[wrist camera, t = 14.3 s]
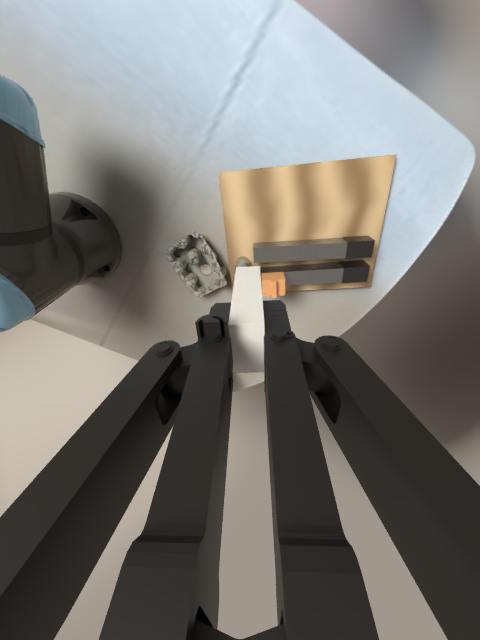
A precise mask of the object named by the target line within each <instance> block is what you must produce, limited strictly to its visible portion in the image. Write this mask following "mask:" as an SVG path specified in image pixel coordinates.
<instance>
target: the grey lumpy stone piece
mask: <svg viewBox="0 0 480 640" xmlns="http://www.w3.org/2000/svg"><path fill="white" fill-rule="evenodd" d="M190 235H192V236H193V237H194V238H202V240H203V244H202V253H203V254H207V255H213V257H214V259H213V261H212V264H213V265H212V266H213V268H214V271H215V272H217V273H218V274H219V277H220V279H221V280H222V281H220V280H219V279H213V280H212V281H211V282H210V285H209V288H208V289H206V288H205V287H198V286H197V285H196V283H197V281H198V277H197V275H196V274H195V273H188V272H187V271H186V270H185V268H186V266H187V263H188V264H191V265H196V264H198V263H199V260H200V259H201V256H202V254H201V251H200V250H199V249H197V248H192V249H191V250H190V251H189V252H188V253H187V256H186V260H185V259H184V258H182V257H176V256H175V255H174V252H175V250H176V248H177V249H179V248H183V249H184V248H186V246H187V245H188V244H189V242H190ZM164 255H165V256H166V257H167V259H168V260H169V261H170V262H171V263H172V265H173V267H174V268H175V270H176V273H177V274H178V275H179V276H180V278H181V279H182V281H183V282H184V283H185V285H186V286H187V288H188V290H189V291H190V293H191V294H193V295H195V296H198V297H202V296H204V295H206V294H208V293H210V292H212V291H214V290H216V289H218V288H221V287H223V286H225V285H227V282H226V280H225V275H226V273H227V270H226V268H225V267H220V265H219V264H218V262H217V260H216V257H217V255H216V254H215V253H214V251H212V250H211V248H210V247H209V246H208V244H207V243H206V237H205V236H204V235H203V234H202V235H201V234H198V233H197V232H196V231H195V232H192V233H191V234H189V235H188V236H187V237H186V238H185V239H182V240H181V241H180V242H177V243H175V244H174V245H173V246H171V247H170V248H169V249H167V250H166V251H165V252H164ZM186 261H187V262H186ZM200 271H201V273H202V274H203V275H206V276H208V275H210V274H211V273H212V268H211V266H210V265H208V264H203V265H202V266H201V267H200Z"/></svg>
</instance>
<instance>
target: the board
mask: <svg viewBox="0 0 480 640" xmlns="http://www.w3.org/2000/svg"><path fill="white" fill-rule="evenodd" d="M395 160H396V155H387V156H377V157H368V158H358V159H348V160H338V161H329V162H319V163H309V164H299V165H290V166H280V167H270V168H260V169H251V170H241V171H231V172H221V173H218V174H219V183H220V191H221V200H222V209H223V217H224V226H225V234H226V243H227V251H228V260H229V268H230V277H231V285H232V294H233V286H234V279H235V274H234V270H235V266H236V261H237V259H238V258H239V257H241V256H245V257H247V258H248V259H249V261H250V266H260V267H268V266H284V265H299V264H315V263H331V262H339V261H353V260H364V261H365V262H366V263H367V264H368V265H369V266H370V269H369V275H368V280H367V282H357V283H325V284H307V285H289V286H285V291H301V290H320V289H339V288H357V287H370V284H371V279H372V274H373V269H374V264H375V260H376V255H377V250H378V245H379V240H380V235H381V230H382V225H383V220H384V215H385V210H386V205H387V200H388V195H389V190H390V185H391V180H392V175H393V170H394V165H395ZM351 236H370V237H371V238H373V239H374V240H375V244H374V249H373V254H372V258H356V259H345V258H342V259H323V260H304V261H284V262H265V263H254V256H253V243H261V242H278V241H295V240H312V239H329V238H343V237H351Z"/></svg>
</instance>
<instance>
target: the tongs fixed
mask: <svg viewBox="0 0 480 640" xmlns="http://www.w3.org/2000/svg"><path fill="white" fill-rule="evenodd" d="M236 267H250V261H249V259H248V258H247V257H245V256H241V257H239V258H238V259H237V261H236V266H235V270H234V274H235V272H236ZM369 269H370V266H369V265H368V264H367V263H366V262H365V261H364V260H353V261H339V262H331V263H315V264H299V265H284V266H268V267H260V275H261V287H262V273H273V272H284V276H285V286H289V285H307V284H325V283H357V282H367V280H368V275H369Z"/></svg>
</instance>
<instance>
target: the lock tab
mask: <svg viewBox="0 0 480 640" xmlns="http://www.w3.org/2000/svg"><path fill="white" fill-rule="evenodd" d="M262 294H263V296H271V298H277V296H282V295H285V276H284V272H273V273H262Z"/></svg>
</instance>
